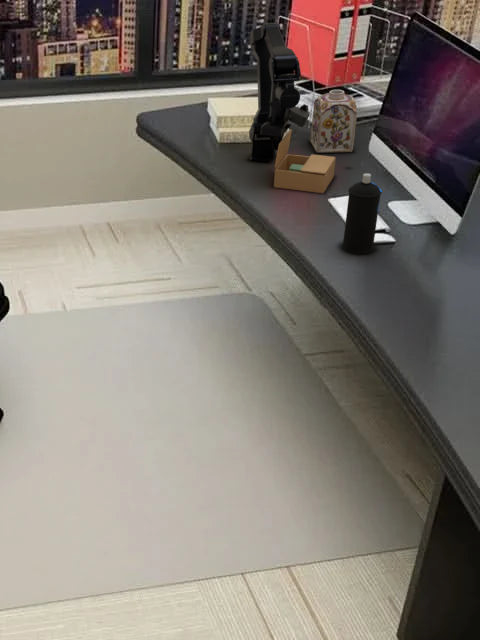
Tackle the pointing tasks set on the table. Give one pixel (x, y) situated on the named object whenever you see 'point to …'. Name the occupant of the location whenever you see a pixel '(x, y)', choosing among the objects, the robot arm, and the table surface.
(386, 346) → the table surface
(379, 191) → the aerosol can
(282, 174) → the carton
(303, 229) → the table surface
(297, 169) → the block
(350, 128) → the decorative jar
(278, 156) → the flap
